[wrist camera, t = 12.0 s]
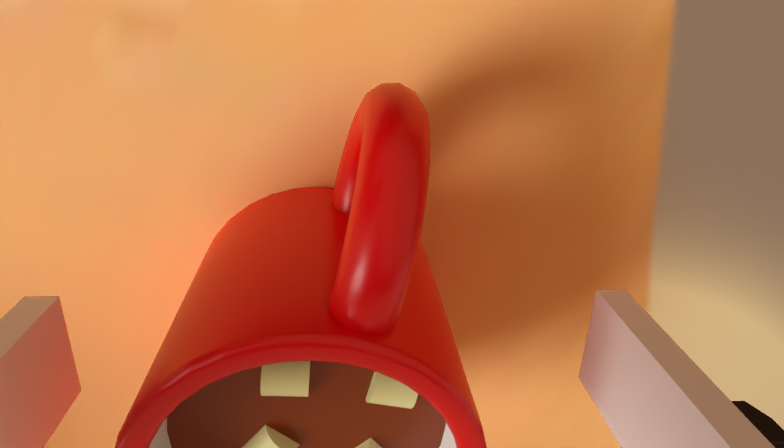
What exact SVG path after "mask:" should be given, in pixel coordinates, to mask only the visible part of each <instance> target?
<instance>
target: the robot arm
mask: <svg viewBox="0 0 784 448" xmlns="http://www.w3.org/2000/svg"><path fill="white" fill-rule="evenodd" d="M579 379H580V380H581V382H582V384H583V385H584V387H585V389H586V390H587V392H588V394H589V395H590V397H591V399H592V400H593V402H594V403H595V405H596V407H597V408H598V410H599V412H600V413H601V415H602V417H603V418H604V420H605V421H606V423H607V425H608V426H609V428H610V430H611V431H612V433H613V435H614V436H615V438H616V439H617V441H618V443H619V444H620V446H621V448H784V430H783V429H782V428H781V427H780V426H779V425H778V424H777V423H776V422H775V421H774V420H773V419H772V418H770V417H769V416H767V415H765V414H764V413H762V412H761V411H759V410H758V409H756V408H755V407H753V406H751V405H750V404H748V403H747V402H745V401H730V400H729V399H728V398H727V397H726V396H725V395H724V393H723V392H722V391H721V390H719V388H718V387H717V386H716V385H715V384H714V383H713V382H712V381H711V380H710V379H709V378H708V377H707V375H706V374H705V373H704V372H703V371H702V370H701V369H700V368H699V367H698V366H697V365H696V364H695V363H694V362H693V361H692V360H691V359H690V358H689V357H688V355H687V354H685V352H684V351H683V350H682V349H681V348H680V347H679V346H678V345H677V344H676V343H675V342H674V341H673V340H672V339H671V338H670V336H669V335H668V334H667V333H666V332H665V331H664V330H663V329H662V328H661V327H660V326H659V325H658V324H657V323H656V322H655V321H654V320H653V319H652V317H651V316H650V315H649V314H648V313H647V312H646V311H645V310H644V309H643V308H642V307H641V306H640V305H639V304H638V303H637V302H636V301H635V300H634V298H633V297H632V296H631V295H630V294H629V293H628V292H627V291H626V290H597V291H596V296H595V300H594V305H593V310H592V315H591V319H590V324H589V329H588V334H587V339H586V343H585V348H584V353H583V358H582V363H581V367H580V372H579ZM80 391H81V387H80V383H79V379H78V374H77V370H76V366H75V362H74V358H73V353H72V349H71V345H70V341H69V337H68V332H67V328H66V324H65V320H64V316H63V311H62V307H61V303H60V299H59V296H41V297H24V298H23V299H22V300H20V301H19V302H18V303H17V304H16V305H15V306H14V307H13V308H12V309H11V310H10V311H9V312H8V313H7V314H6V315H5V316H4V317H3V318H2V319H0V448H43V447H44V446H45V444H46V443H47V441H48V440H49V438H50V437H51V435H52V434H53V432H54V431H55V429H56V428H57V426H58V425H59V423H60V421H61V420H62V418H63V417H64V415H65V414H66V412H67V411H68V409H69V408H70V406H71V405H72V403H73V402H74V400H75V399H76V397H77V396H78V394H79V393H80Z"/></svg>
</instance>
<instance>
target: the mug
mask: <svg viewBox="0 0 784 448" xmlns="http://www.w3.org/2000/svg"><path fill="white" fill-rule="evenodd" d="M429 164H430V128H429V120H428V116H427V112H426V110H425V108H424V106H423V105H422V103H421V101H420V99H419V97H418V95H417V94H416V93H415V92H414V91H412V90H410V89H409V88H407V87H405V86H404V85H402V84H400V83H385V84H380V85H379V86H377V87H375V88H374V89H372V90H371V91H369V92H368V93H367V94H366V95H365V97H364V98H363V100H362V102H361V104H360V106H359V108H358V110H357V112H356V114H355V117H354V119H353V122H352V125H351V128H350V131H349V134H348V137H347V140H346V144H345V147H344V151H343V155H342V158H341V162H340V166H339V170H338V174H337V178H336V182H335V186H334V189H330V188H322V187H315V188H299V189H292V190H288V191H284V192H280V193H276V194H272V195H269V196H267V197H265V198H263V199H261V200H259V201H257V202H254V203H252V204H250V205H248V206H247V207H246V208H244V209H243V210H242V211H240V212H239V213H238V214H236V215H235V216H234V217H232V218H231V219H230V220H229V221H228V222H227V223H226V225H225V226H224V227H223V228H222V229H221V230H220V231H219V232H218V234H217V235H216V236H215V238H214V240H213V242H212V243H211V245H210V247H209V249H208V251H207V253H206V255H205V257H204V259H203V261H202V263H201V265H200V267H199V269H198V271H197V273H196V275H195V277H194V279H193V281H192V283H191V285H190V288H189V290H188V292H187V294H186V296H185V298H184V300H183V302H182V304H181V306H180V308H179V310H178V312H177V314H176V316H175V318H174V321H173V323H172V325H171V327H170V329H169V331H168V333H167V335H166V337H165V339H164V341H163V343H162V345H161V347H160V349H159V351H158V353H157V356H156V358H155V360H154V362H153V364H152V366H151V368H150V370H149V372H148V374H147V376H146V378H145V380H144V382H143V384H142V386H141V389H140V391H139V393H138V395H137V397H136V399H135V401H134V403H133V405H132V407H131V409H130V411H129V413H128V415H127V417H126V419H125V422H124V424H123V426H122V428H121V430H120V432H119V434H118V437H117V442H116V446H115V448H487V446H486V442H485V437H484V432H483V428H482V425H481V422H480V418H479V415H478V412H477V409H476V406H475V403H474V400H473V397H472V394H471V391H470V388H469V385H468V382H467V379H466V376H465V372H464V369H463V366H462V363H461V360H460V357H459V354H458V351H457V348H456V345H455V342H454V339H453V336H452V333H451V330H450V326H449V323H448V320H447V317H446V314H445V311H444V308H443V305H442V302H441V299H440V296H439V293H438V290H437V287H436V283H435V280H434V277H433V274H432V271H431V268H430V265H429V262H428V259H427V257H426V254H425V252H424V250H423V248H422V246H421V244H420V242H419V239H420V234H421V228H422V223H423V216H424V210H425V203H426V195H427V186H428V176H429Z"/></svg>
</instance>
